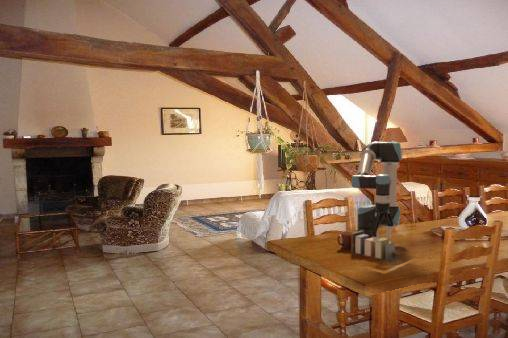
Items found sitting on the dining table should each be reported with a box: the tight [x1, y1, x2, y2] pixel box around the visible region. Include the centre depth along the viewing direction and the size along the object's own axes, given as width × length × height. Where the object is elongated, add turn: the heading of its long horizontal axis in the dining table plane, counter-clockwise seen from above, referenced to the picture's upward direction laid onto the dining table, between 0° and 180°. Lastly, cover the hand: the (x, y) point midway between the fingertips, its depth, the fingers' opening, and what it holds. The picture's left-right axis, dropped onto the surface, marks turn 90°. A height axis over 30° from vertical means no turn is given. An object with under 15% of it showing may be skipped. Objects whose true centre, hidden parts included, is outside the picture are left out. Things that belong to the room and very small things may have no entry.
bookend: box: [385, 242, 400, 262], centre depth 252 cm, size 4×8×8 cm, turn 134°
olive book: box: [374, 237, 390, 260], centre depth 256 cm, size 4×8×10 cm, turn 134°
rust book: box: [364, 237, 375, 258], centre depth 261 cm, size 4×8×9 cm, turn 134°
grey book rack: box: [350, 231, 401, 262], centre depth 260 cm, size 25×11×13 cm, turn 44°
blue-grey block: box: [355, 234, 369, 256], centre depth 266 cm, size 4×8×10 cm, turn 134°
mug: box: [336, 231, 354, 250], centre depth 277 cm, size 12×9×10 cm
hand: (382, 239), depth 256 cm, fingers open, 13 cm apart
